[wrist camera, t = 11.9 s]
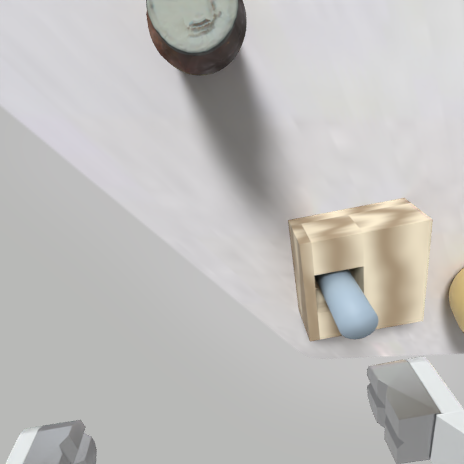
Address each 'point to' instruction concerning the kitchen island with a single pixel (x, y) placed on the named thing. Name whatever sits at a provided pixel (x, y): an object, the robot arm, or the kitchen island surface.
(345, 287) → the pin
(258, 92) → the kitchen island surface
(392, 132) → the kitchen island surface
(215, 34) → the sauce bottle
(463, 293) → the pale yellow rounded lump
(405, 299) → the bore block
